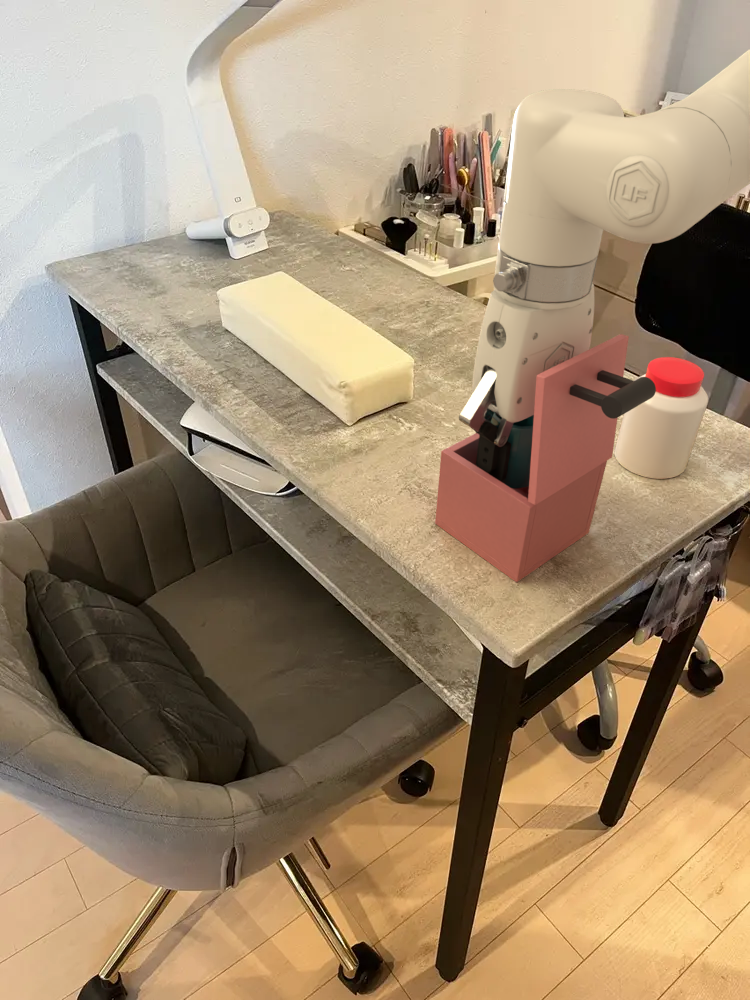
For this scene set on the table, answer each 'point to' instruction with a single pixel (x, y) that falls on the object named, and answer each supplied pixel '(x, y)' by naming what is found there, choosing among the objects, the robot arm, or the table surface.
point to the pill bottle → (664, 421)
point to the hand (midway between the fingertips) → (513, 458)
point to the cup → (518, 451)
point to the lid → (580, 415)
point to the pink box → (510, 513)
